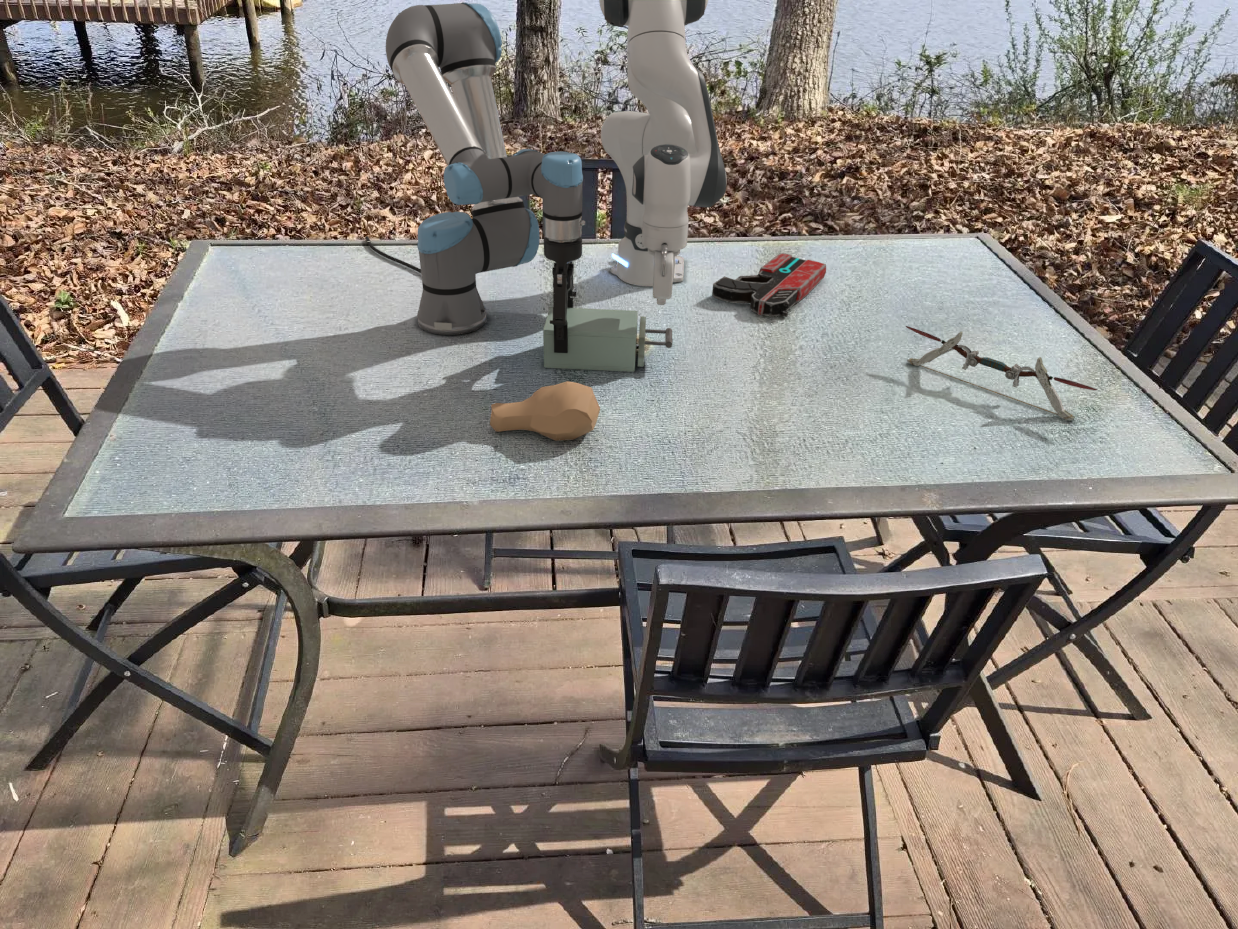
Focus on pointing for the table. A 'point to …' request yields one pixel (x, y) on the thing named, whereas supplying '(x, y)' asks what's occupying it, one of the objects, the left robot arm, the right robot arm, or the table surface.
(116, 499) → the table surface
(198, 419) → the table surface
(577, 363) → the grey box
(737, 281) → the gun
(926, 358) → the bow
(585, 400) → the squash
